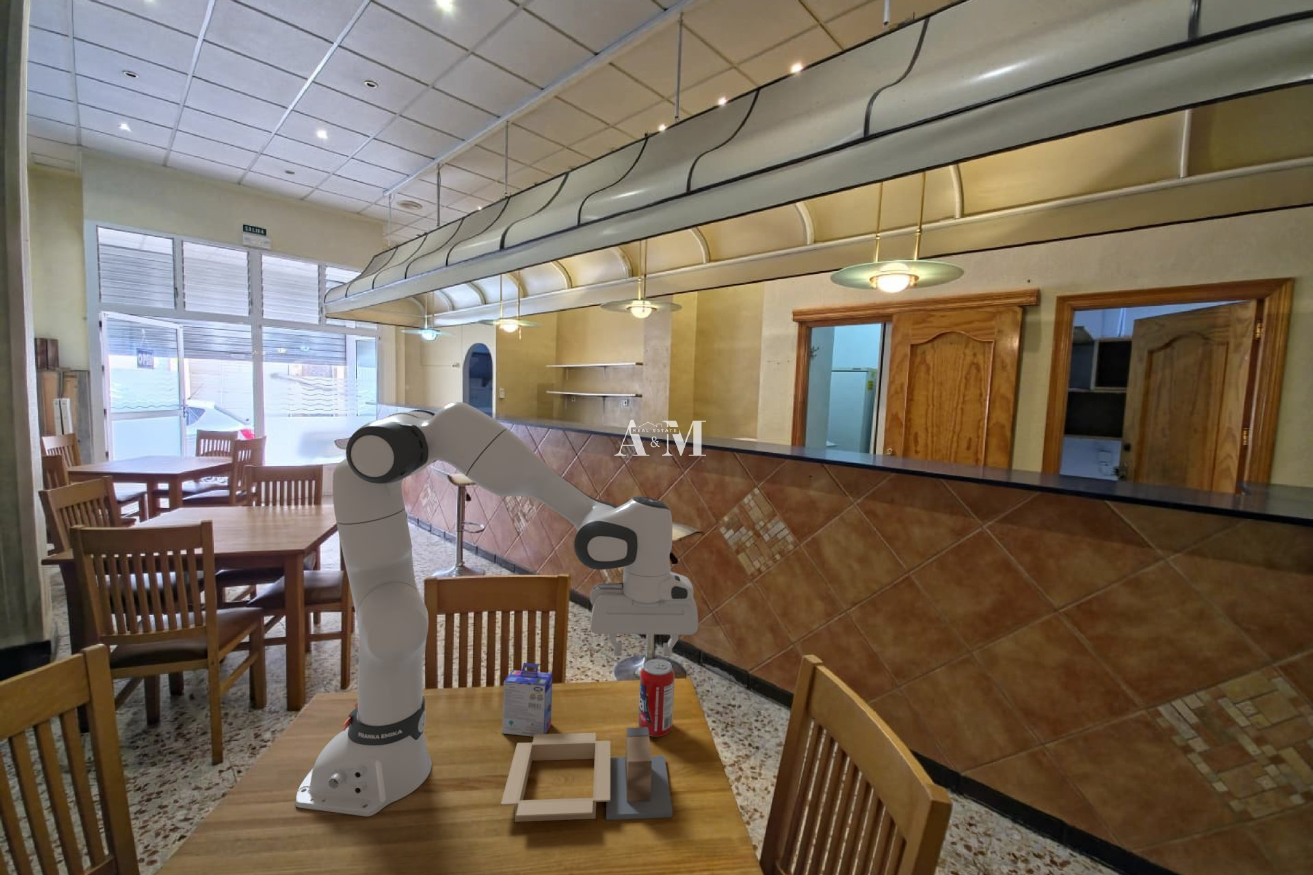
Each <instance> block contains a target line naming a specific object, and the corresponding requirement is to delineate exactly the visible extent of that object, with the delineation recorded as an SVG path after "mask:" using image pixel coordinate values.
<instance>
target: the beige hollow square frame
mask: <svg viewBox="0 0 1313 875" xmlns="http://www.w3.org/2000/svg"><path fill="white" fill-rule="evenodd" d="M596 735H597V733H596V732H580V733H579V732H578V733H574V732H573V733H572V732H571V733H568V732H567V733H546V734H534V737H533V738H532V739H533V740H532V742H517V743H516V747H515V750H514V754H513V758H512V761H511V765H510V769H509V772H508V777H507V779H506V784H505V787H504V792H503V794H502V799H501V801H500V806H514V807H515V808H514V810H515V812H514V822H515V823H517V822H518V823H519V822H535V821H536V822H543V821H546V822H547V821H565V820H566V821H568V820H587V819H588V820H591V819H594V820H595V819H596V818H597V817H596V816H597V815H596V814H597V812H596V811H597V803H601V802H603V803H604V802H606V801H610V757H611V740H596V739H597V738H596ZM592 759H593V760H594V767H593V769H594V770H593V771H594V772H593V786H592V788H593V790H592V792H593V793H592V797H578V798H576V797H575V798H550V799H549V798H548V799H547V798H546V799H525V800H524V798H525V794H526V788H527V783H528V779H529V777H530V776H529V775H530V771H531V767H532V766H531V765H532V762H533V761H555V760H556V761H558V760H559V761H560V760H562V761H563V760H564V761H567V760H592Z"/></svg>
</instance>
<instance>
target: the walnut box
mask: <svg viewBox="0 0 1313 875" xmlns="http://www.w3.org/2000/svg"><path fill="white" fill-rule="evenodd" d="M625 734H626V737H625V757H626V758H625V773H626V800H627V802H647V801H650V795H651V771H652V757H651V756H652V750H651V742H650V736H649V730H648V727H639V726H638V727H626V733H625Z"/></svg>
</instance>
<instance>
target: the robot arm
mask: <svg viewBox="0 0 1313 875" xmlns="http://www.w3.org/2000/svg"><path fill="white" fill-rule="evenodd" d="M345 457H346V458H345V459H343V460H341V461H340V462H339V463H338V464H337V465H336V466H335V468H334V470H333V472H332V500H333V502H332V503H333V511H334V517H335V521H336V527H337V531H338V536H339V541H340V546H341V550H342V556H343V561H344V565H345V570H346V573H347V574H346V575H347V579H348V582H349V586H350V588H349V589H350V594H351V598H352V602H353V607H354V611H355V617H356V622H357V628H358V639H359V640H358V667H357V669H358V670H357V676H356V677H357V678H356V679H357V682H356V683H357V702H356V703H355V706H354V707H355V708H354V709H353V710H352V711H350V713H349V715H348V717H347V719H346V720H345V721H344V723H343V725H342V727H343V729H342V731H340V732H338V734H336V735H335V736H334V737H332V739H331V740H329V742H328V743H327V744H326V745H325V747H324V748H323V749H322V750H321V752H320V753H319V755H318V757H317V758H316V761H315V763H314V766H313V767H312V768H311V770H310V771H309V772H308V773H307V774H306V776H305V778H304V779H303V781H302V782H301V783H300V785H299V787H298V789H297V792H296V796H295V807H297V808H301V809H308V810H314V811H315V810H316V811H324V812H331V813H338V814H344V815H345V814H346V815H353V816H361V817H371V816H374V815H376V814H377V813H378V812H380V811H382V810H383V809H384V808H385V807H386V806H388V805H390V804H391V803H394V802H396V801H399V800H400V799H403V798H404V797H406V796H408V795H410V794H411V793H413V792H414V791H416V790H417V789H418V788H419V787H420V786H421V785H422V784H423V783H424V782H425V781H426V780H427V778H428V776H429V775H430V773H431V770H432V765H433V763H432V762H433V761H432V758H431V757H430V753H429V751H428V747H427V742H426V736H425V727H426V721H427V720H426V719H427V718H426V717H427V711H426V700H425V696H424V695H423V693H424V692H423V690H424V689H423V686H424V684H423V681H424V680H423V675H424V674H423V670H424V669H423V666H424V656H425V650H426V644H427V637H428V636H427V635H428V631H429V613H428V609H427V608H428V607H427V606H426V604H425V602H424V600H423V599H422V596H421V594H420V592H419V588H418V587H417V582H416V578H415V577H416V576H415V569H414V561H413V560H414V559H413V544H412V538H411V532H410V527H409V522H408V517H407V511H406V507H405V506H406V504H405V501H404V496H403V490H402V486H403V481H404V479H405V478H407V477H410V476H414V475H416V474H418V473H420V472H421V471H423V470H424V469H426V468H427V467H429V466H430V465H431V464H434V463H435V462H437V461H440V462H444V463H447V464H448V465H450V466H451V467H454V469H456V470H457V471H459V472H460V473H461V474H462V475H464V476H465V477H466V478H468V479H469V480H470V481H471V482H473V483H474V484H476V485H477V486H478V487H480V488H482V489H484V490H486V491H487V492H490V493H492V494H494V495H496V496H499V497H504V498H505V497H506V498H507V497H508V498H509V497H523V498H525V497H527V498H530V499H535V500H537V501H539V502H541V503H542V504H544V505H545V506H547V507H548V508H550V509H551V510H552V511H555V513H557V514H559V515H560V516H561V517H562V518H564V519H566V520H567V521H569V522H570V523H571V524H572V525H573V527H574V528H575V529H576V533H575V537H574V542H573V549H574V552H575V553H574V554H575V556H576V558H577V559H578V561H579V562H580V563H581V564H583V565H584V566H586V567H588V568H590V569H592V570H598V571H602V570H612V569H620V568H623V573H622V574H623V577H622V582H599V583H598V584H596V585H594V586H593V587H591V590H590V592H589V593H590V594H589V601H590V604H591V605H592V610H591V617H590V630H591V631H592V633H593V634H595V635H597V634H599V635H608V640H609V641H610V643H611V645H612V647H613V656H615V657H616V656H617V657H619V656H622V655H623V642H618V640H617V635H670V638H669V639H668V640H667V641H668V642H663V643H662V644H663V645H662V646H663V647H662V653H663V656H664V657H667V656H669V657H671V656H672V654H673V648H674V646H675V645H676V644H677V642H678V640H679V636H680V635H684V636H685V635H686V636H687V635H689V636H690V635H694V634H696V633H697V631H698V629H699V615H698V614H699V613H698V607H697V604H696V601H695V599H694V593H695V592H694V587H693V584H692V582H691V580H690V579H689V578H688V577H687V576H686V575H682V574H679V573H676V572H674V571H671V568H672V566H671V564H670V563H671V562H670V554H671V552H672V549H673V548H672V547H673V516H672V512H671V509H670V507H668V505H667V504H666V503H665V502H663V501H660V500H659V499H656V498H652V497H648V496H633V497H632V498H631V499H630V500H628V501H627V502H625V503H623V504H621V505H619V506H618V505H616V504H614V503H612V502H609V501H605V500H600V499H598V498H594V497H592V496H591V495H589V494H587V493H585V492H584V491H582V489H580V488H579V487H577V486H575V484H572V483H571V482H570V481H568V480H567V479H566V478H564V477H563V476H561V474H559V473H557V472H556V471H555V470H554V469H553V468H551V467H550V466H549V465H548V464H547V463H546V462H545V461H544V460H542V458H541V457H540V456H538V455H537V454H536V453H535V452H534V451H533V450H532V449H531V447H529V446H528V444H527V443H525V442H524V441H523V440H522V439H520V438H519V437H518V436H517V435H516V434H515V433H514V432H512V431H511V430H510V429H509V428H507V427H506V426H505V425H503V424H502V423H501V422H499V421H497V420H496V419H495V418H494V417H491V416H490V415H489V414H487V413H485V412H484V411H482V410H480V409H478V408H476V407H475V406H473V405H470V404H469V403H467V402H466V403H465V402H463V401H455V402H451V403H448V404H446V405H444V406H442V407H440V408H439V410H437V411H436V412H434V411H431V410H425V409H424V410H423V409H413V410H410V411H403V412H396V413H393V414H389V415H388V416H386V417H383V418H380V419H377V420H373V421H370V422H368V423H366V424H364V425H362V426H360V428H357V430H355V432H354V433H352V435H351V436H350V438H349V439H348V442H347V444H346V447H345Z"/></svg>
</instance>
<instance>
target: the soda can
mask: <svg viewBox="0 0 1313 875" xmlns="http://www.w3.org/2000/svg"><path fill="white" fill-rule="evenodd" d="M639 674H640V677H639V700H638V701H639V702H638V727H648V730H649V737H663V736H666V735H668V733H669V732H671V730H672V728H673V722H674V700H675V699H674V696H675V695H674V694H675V676H676V674H675V671H674V669H673V666H672V663H670V661H667V660H666V659H664V658H663V659H662V658H652V659H649V660H646V662H644V663H643V667H642V668H641V670H640V672H639Z"/></svg>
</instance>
